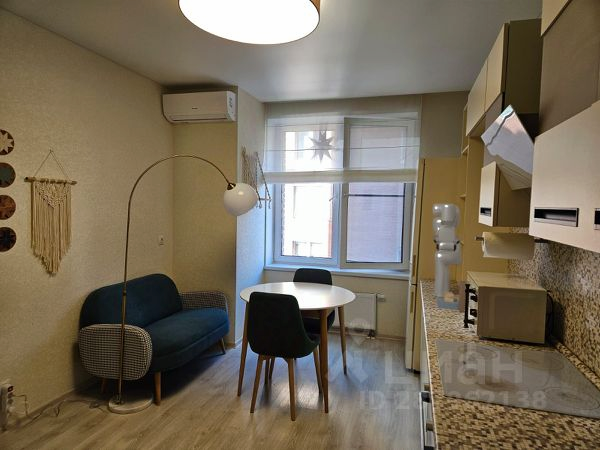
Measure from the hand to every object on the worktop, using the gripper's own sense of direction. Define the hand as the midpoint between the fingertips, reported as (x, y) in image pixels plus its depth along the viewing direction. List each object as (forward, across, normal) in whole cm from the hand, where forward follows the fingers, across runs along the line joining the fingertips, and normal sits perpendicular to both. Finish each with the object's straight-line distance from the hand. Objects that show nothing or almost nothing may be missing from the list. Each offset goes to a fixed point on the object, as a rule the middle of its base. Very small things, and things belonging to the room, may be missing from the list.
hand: (446, 250), depth 232 cm
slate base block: (+35, -2, +4) cm, 35 cm away
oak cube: (+31, -2, +4) cm, 31 cm away
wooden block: (+34, -12, +12) cm, 39 cm away
